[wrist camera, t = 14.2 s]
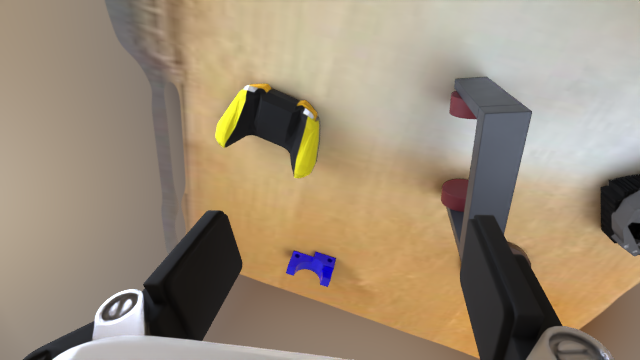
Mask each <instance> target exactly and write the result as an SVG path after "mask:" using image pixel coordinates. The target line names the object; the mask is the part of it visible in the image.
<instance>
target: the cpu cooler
mask: <svg viewBox="0 0 640 360" xmlns="http://www.w3.org/2000/svg"><path fill="white" fill-rule="evenodd" d="M601 226H602V228H601V230H602V231H603V232H604V233H605V234H606V235H607V236H608V237H609V238H610V239H611V240H612V241H613V242H614V243H618V244H619V245H620V246H621V247H622V248H624V249H625V250H627V251H628V252H629V253H631V254H632V255H633V256H637V255H640V174H639V175H638V174H637V175H636V176H635V175H634V176H633V175H632V176H626V177H625V178H624V177H622V178H621V177H620V178H616V179H615V180H614V181H613V180H612V181H611V180H609V186H604V187H601Z"/></svg>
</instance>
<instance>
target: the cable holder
mask: <svg viewBox="0 0 640 360" xmlns="http://www.w3.org/2000/svg"><path fill="white" fill-rule="evenodd" d="M335 261H336V258H334V257H331V256H328V255H325V254H321V253H318V252H315V255H314V257H312V256H309V255H306V254H303V253H300V252H297V251H294V252H293V254H292V257H291V259H290V262H289V264H288V267H287V271H286V273H287V274H290V275H293V276H294V274H295V273H296V272H297V271H298V270H301V269H308V270H311V271H313V272H315V273H316V274H317V275H318V277H319V279H320V285H323V286H326V287H328V285H329V282H330V280H331V275H332V272H333V269H334V265H335Z"/></svg>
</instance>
